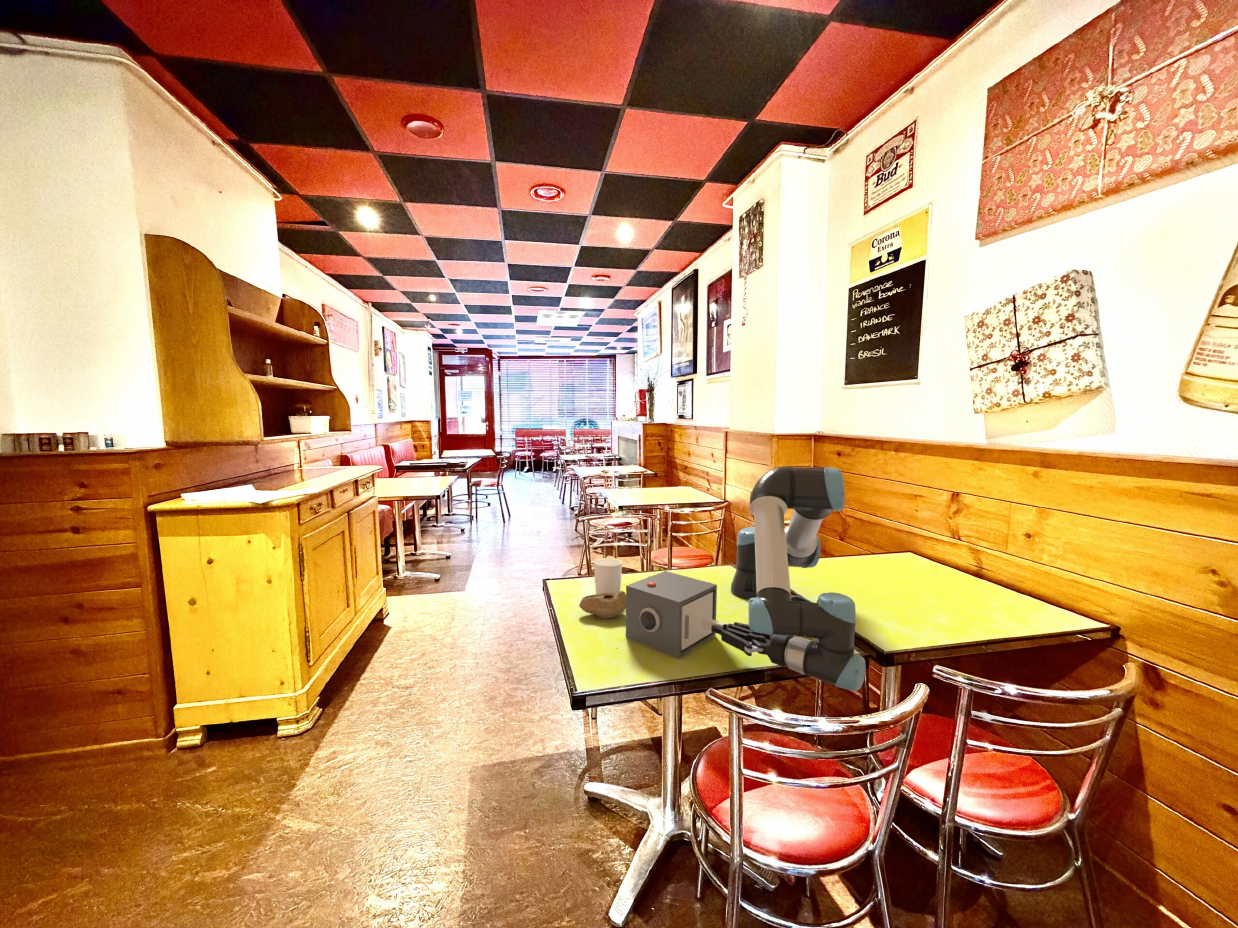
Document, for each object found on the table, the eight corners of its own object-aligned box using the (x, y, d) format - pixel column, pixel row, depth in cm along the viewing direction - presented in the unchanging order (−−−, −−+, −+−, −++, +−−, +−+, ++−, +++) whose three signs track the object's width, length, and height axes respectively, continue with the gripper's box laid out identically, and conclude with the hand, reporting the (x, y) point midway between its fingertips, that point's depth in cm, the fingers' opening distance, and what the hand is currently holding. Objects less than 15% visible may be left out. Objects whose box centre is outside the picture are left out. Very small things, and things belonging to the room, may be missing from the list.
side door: (710, 630, 136) (711, 590, 135) (714, 632, 135) (715, 592, 134) (679, 649, 125) (679, 605, 124) (683, 651, 124) (684, 607, 123)
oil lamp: (577, 610, 154) (577, 586, 153) (623, 607, 157) (623, 583, 157) (582, 624, 144) (582, 598, 143) (631, 620, 147) (631, 595, 146)
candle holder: (618, 601, 162) (619, 566, 161) (590, 599, 164) (590, 565, 163) (624, 591, 171) (624, 558, 170) (597, 589, 173) (597, 557, 172)
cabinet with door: (664, 618, 148) (665, 568, 147) (715, 636, 136) (716, 582, 135) (621, 639, 134) (622, 584, 132) (674, 661, 122) (675, 601, 120)
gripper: (778, 677, 108) (689, 644, 123) (801, 656, 117) (716, 628, 133) (779, 645, 107) (690, 616, 123) (802, 627, 116) (716, 602, 132)
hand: (703, 622), depth 128 cm, fingers closed
